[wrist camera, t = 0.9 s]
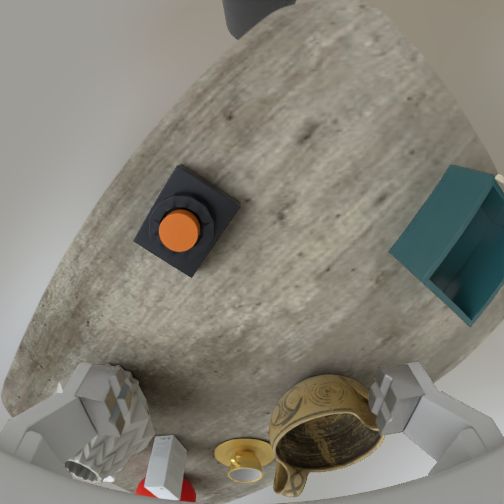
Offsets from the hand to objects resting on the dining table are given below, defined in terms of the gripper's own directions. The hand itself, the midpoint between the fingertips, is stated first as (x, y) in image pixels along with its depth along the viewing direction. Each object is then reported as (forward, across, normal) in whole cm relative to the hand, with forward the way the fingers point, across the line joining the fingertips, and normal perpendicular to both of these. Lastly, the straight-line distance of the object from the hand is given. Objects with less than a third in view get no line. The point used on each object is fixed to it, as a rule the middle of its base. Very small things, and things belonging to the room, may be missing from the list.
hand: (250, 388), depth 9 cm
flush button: (+24, +7, +2) cm, 25 cm away
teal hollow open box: (+28, -27, +4) cm, 39 cm away
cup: (+28, 0, +48) cm, 55 cm away
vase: (+28, +21, +29) cm, 45 cm away
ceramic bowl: (+28, -12, +30) cm, 43 cm away
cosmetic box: (+28, +14, +46) cm, 55 cm away
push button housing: (+28, +7, +2) cm, 29 cm away
